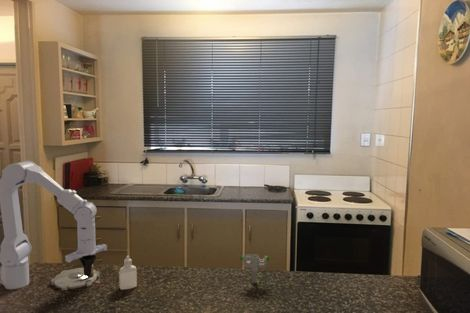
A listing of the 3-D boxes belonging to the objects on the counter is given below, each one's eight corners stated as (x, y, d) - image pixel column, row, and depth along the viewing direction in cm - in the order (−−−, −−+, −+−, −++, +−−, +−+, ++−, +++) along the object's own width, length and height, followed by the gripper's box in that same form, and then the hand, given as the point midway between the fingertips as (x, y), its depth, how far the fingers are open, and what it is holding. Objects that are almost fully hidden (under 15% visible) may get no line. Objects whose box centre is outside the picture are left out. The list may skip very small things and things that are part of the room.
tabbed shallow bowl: (43, 289, 116) (43, 273, 116) (68, 270, 132) (67, 256, 131) (85, 291, 116) (84, 275, 115) (105, 271, 131) (104, 257, 131)
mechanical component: (268, 284, 125) (269, 257, 124) (240, 283, 125) (240, 257, 124) (267, 280, 127) (268, 254, 127) (240, 280, 128) (240, 253, 127)
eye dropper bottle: (134, 292, 117) (133, 258, 116) (117, 292, 117) (117, 258, 116) (138, 286, 121) (137, 253, 120) (122, 286, 122) (122, 253, 121)
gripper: (72, 246, 112) (74, 286, 113) (111, 234, 124) (112, 271, 125) (61, 241, 116) (62, 280, 118) (100, 231, 128) (100, 266, 129)
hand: (87, 275), depth 122 cm, fingers closed
